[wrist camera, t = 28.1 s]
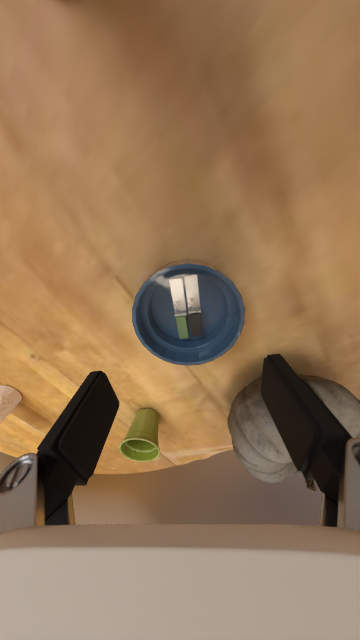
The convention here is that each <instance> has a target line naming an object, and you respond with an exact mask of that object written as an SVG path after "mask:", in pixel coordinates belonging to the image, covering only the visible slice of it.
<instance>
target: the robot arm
mask: <svg viewBox="0 0 360 640" xmlns="http://www.w3.org/2000/svg"><path fill="white" fill-rule="evenodd" d="M261 396H262V398H263V400H264V402H265V405H266V407H267V409H268V411H269V413H270V415H271V417H272V419H273V421H274V423H275V426H276V428H277V430H278V432H279V434H280V436H281V438H282V440H283V442H284V444H285V447H286V449H287V451H288V453H289V455H290V457H291V459H292V461H293V463H294V465H295V467H296V469H297V470H298V471H301V472H302V474H303V476H304V478H305V480H313V479H315V481H316V483H317V485H318V487H319V489H320V491H321V492H322V500H321V509H320V518H319V526H307V525H260V524H259V525H258V524H256V525H255V524H252V525H251V524H240V525H239V524H115V525H112V524H111V525H75V516H74V507H73V500H72V499H73V498H72V491H73V488H74V486H75V485H86V484H87V482H88V479H89V478H90V477H91V476H92V475H93V473H94V470H95V468H96V465H97V462H98V460H99V457H100V455H101V452H102V449H103V447H104V444H105V442H106V439H107V437H108V434H109V431H110V429H111V426H112V424H113V421H114V418H115V416H116V413H117V411H118V408H119V400H118V398H117V396H116V394H115V392H114V390H113V388H112V386H111V384H110V382H109V380H108V378H107V376H106V374H105V373H103V372H102V371H94V372H90V373H89V375H88V376H87V378H86V379H85V381H84V382H83V383H82V385H81V386H80V388H79V389H78V391H77V392H76V393H75V395H74V396H73V398H72V399H71V401H70V402H69V403H68V405H67V406H66V408H65V409H64V411H63V412H62V414H61V415H60V416H59V418H58V419H57V421H56V422H55V424H54V425H53V426H52V428H51V429H50V431H49V432H48V434H47V435H46V436H45V438H44V439H43V441H42V442H41V444H40V445H39V447H38V448H37V449H38V450H39V451H38V452H37V454H34V453H27V454H24V455H22V456H20V457H19V458H17V459H16V460H14V461H13V462H12V463H11V464H10V465H8V466H7V467H6V468H5V469H4V471H3V472H2V473H1V474H0V640H360V438H358V437H356V438H353V437H352V436H351V435H350V434H349V432H348V431H347V430H346V429H345V428H344V426H343V425H342V424H341V423H340V422H339V420H338V419H337V418H336V417H335V416H334V414H333V413H332V412H331V411H330V410H329V408H328V407H327V406H326V405H325V404H324V402H323V401H322V400H321V399H320V398H319V396H318V395H317V394H316V393H315V392H314V390H313V389H312V388H311V387H310V386H309V384H308V383H307V382H306V381H305V380H304V379H303V378H299V377H298V376H297V374H296V373H295V372H294V371H293V369H292V368H291V367H290V366H289V364H288V363H287V362H286V361H285V359H284V358H283V357H282V356H281V355H280V354H272V355H268V356H267V358H264V364H263V373H262V382H261Z"/></svg>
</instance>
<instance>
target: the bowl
mask: <svg viewBox="0 0 360 640" xmlns="http://www.w3.org/2000/svg"><path fill="white" fill-rule="evenodd" d="M193 274H194V275H197V279H198V289H199V299H200V309H201V313H200V317H201V327H202V336H193V334H192V327H191V319H190V314H189V312H188V303H187V296H186V288H185V281H184V276H186V275H193ZM175 278H182V282H183V289H184V296H185V303H186V310H187V315H186V318H187V325H188V332H189V338H183V339H179V333H178V328H177V322H176V317H175V316H174V314H175V311H174V305H173V300H172V294H171V288H170V283H169V279H175ZM244 315H245V309H244V304H243V301H242V297H241V294H240V293H239V291H238V290H237V288H236V287H235V285H234V284H233V282H232V281H231V280H230V279H228V278H227V277H226V276H225V275H224V274H223V273H222V272H220V271H219V270H218V269H217V268H215V267H214V266H212V265H210V264H207V263H205V262H203V261H198V260H190V259H188V260H187V259H186V260H180V261H174V262H171V263H169V264H167V265H165V266H163V267H161V268H160V269H158V270H157V271H156V272H155V273H154V274H153V275H152V276H151V277H150V278H148V279H147V280H146V281H145V282H144V284H143V285H142V287H141V288H140V290H139V291H138V293H137V295H136V297H135V301H134V304H133V308H132V323H133V326H134V329H135V332H136V335H137V336H138V338H139V340H140V341H141V343H142V344H143V346H144V347H145V348H147V349H148V350H149V351H150V352H151V353H152V354H153V355H155V356H157V357H158V358H160V359H162V360H164V361H167V362H170V363H173V364H178V365H199V364H203V363H206V362H210V361H212V360H214V359H216V358H218V357H220V356H222V355H223V354H224V353H226V352H227V351H228V350H229V349H230V348H231V347H232V346H233V345H234V343H235V342H236V340H237V339H238V337H239V336H240V334H241V331H242V328H243V325H244Z"/></svg>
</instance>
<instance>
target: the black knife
mask: <svg viewBox="0 0 360 640" xmlns="http://www.w3.org/2000/svg"><path fill="white" fill-rule="evenodd" d="M184 281H185V288H186V296H187V303H188V312H189V314H190V319H191V327H192V334H193V336H202V327H201V317H200V313H201V309H200V299H199V289H198V279H197V275H194V274H193V275H186V276H184Z"/></svg>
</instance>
